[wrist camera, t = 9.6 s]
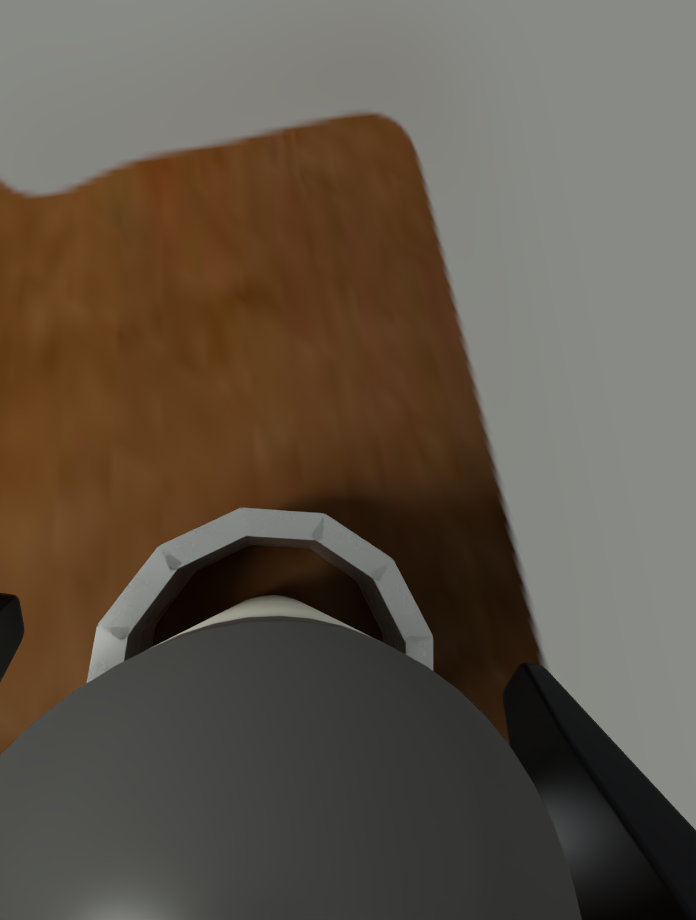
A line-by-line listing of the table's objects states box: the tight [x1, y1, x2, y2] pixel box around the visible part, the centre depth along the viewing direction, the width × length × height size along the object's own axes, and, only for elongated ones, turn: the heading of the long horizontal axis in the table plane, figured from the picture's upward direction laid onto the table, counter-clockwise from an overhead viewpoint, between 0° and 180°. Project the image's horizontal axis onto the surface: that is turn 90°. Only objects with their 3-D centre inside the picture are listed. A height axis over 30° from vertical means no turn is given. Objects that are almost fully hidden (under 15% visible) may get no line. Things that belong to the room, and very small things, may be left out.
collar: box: [87, 508, 433, 683], centre depth 14 cm, size 9×9×3 cm
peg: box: [0, 595, 582, 920], centre depth 9 cm, size 4×4×13 cm
